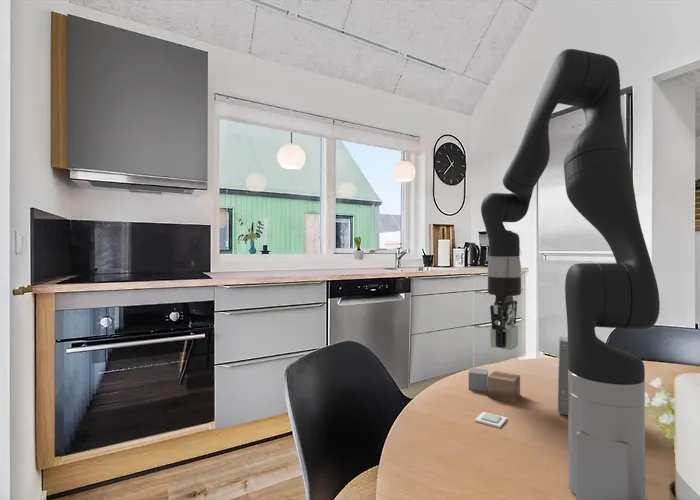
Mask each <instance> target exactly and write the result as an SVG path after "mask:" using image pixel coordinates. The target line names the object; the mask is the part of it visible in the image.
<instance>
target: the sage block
mask: <svg viewBox="0 0 700 500" xmlns="http://www.w3.org/2000/svg"><path fill="white" fill-rule="evenodd" d="M498 325H500V323H498ZM489 327H490V329H489V331H490V334H489V335H490V348H494V349H500V350H501V349H502V350H508V351H513V350H515V349H516V348H518V347H519V339H518V338H519V336H518V334H519V328H518V327H519V325H516V324H514V325H507V327H506V329H507V330H506V347H504V348H501V347H497V346H496V331H495V330H494V329H492V325H490V326H489Z"/></svg>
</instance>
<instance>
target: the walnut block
mask: <svg viewBox="0 0 700 500" xmlns="http://www.w3.org/2000/svg"><path fill="white" fill-rule="evenodd" d="M520 396H521V375H520V374H515V373H511V372H510V373H509V372H505V371H504V372H503V371H498V370H494V371H493V372H492V373H491V374H488V389H487V398H491V399H496V400H500V401H504V402H507V403H515V402H516V401H517V400H518V399H519V398H520Z"/></svg>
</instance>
